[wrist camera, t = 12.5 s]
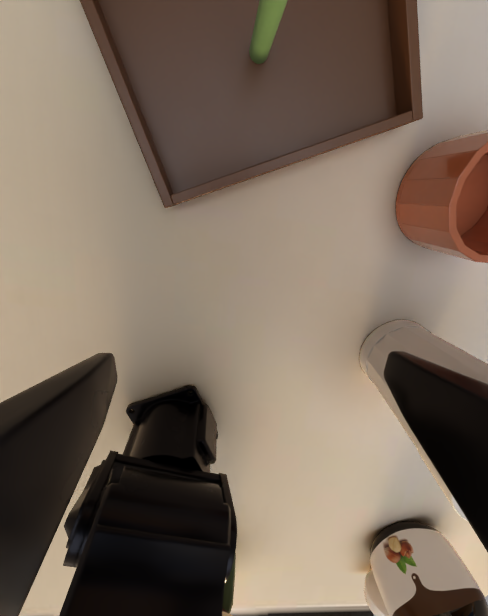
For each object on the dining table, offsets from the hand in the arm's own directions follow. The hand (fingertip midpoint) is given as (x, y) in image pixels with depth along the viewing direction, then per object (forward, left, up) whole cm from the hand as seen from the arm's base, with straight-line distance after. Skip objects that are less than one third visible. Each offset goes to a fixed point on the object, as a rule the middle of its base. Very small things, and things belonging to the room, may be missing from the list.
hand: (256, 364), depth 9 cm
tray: (+5, +11, -13) cm, 18 cm away
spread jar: (+8, -43, -13) cm, 46 cm away
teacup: (+16, 0, -13) cm, 21 cm away
